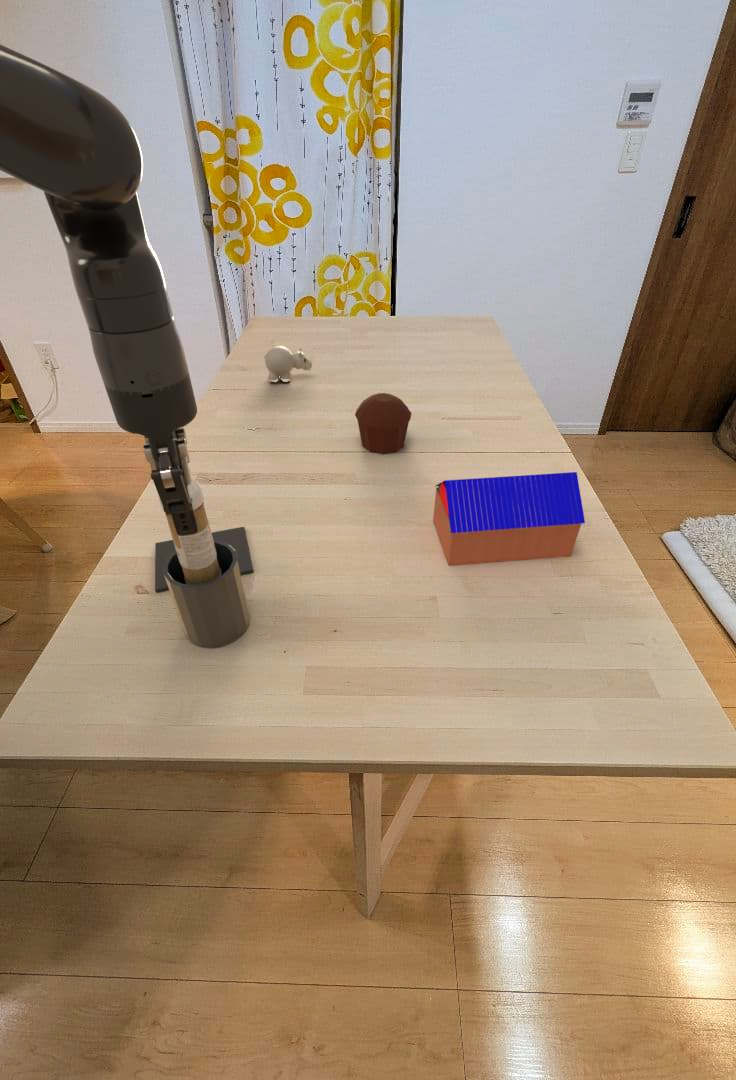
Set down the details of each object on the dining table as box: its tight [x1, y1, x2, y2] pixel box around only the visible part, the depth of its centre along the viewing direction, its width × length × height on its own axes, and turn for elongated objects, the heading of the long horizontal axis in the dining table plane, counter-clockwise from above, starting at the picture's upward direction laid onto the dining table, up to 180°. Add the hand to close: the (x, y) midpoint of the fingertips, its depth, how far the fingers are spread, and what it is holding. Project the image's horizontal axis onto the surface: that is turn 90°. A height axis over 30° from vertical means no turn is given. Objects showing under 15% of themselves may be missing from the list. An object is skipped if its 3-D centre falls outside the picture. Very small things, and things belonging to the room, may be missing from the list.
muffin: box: [354, 392, 412, 455], centre depth 105 cm, size 12×11×10 cm
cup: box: [164, 540, 251, 649], centre depth 66 cm, size 9×9×11 cm
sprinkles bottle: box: [157, 478, 222, 585], centre depth 60 cm, size 5×5×14 cm
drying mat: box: [154, 526, 254, 593], centre depth 80 cm, size 14×11×1 cm
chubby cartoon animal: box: [264, 345, 314, 380], centre depth 131 cm, size 7×12×8 cm, turn 97°
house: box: [432, 471, 586, 566], centre depth 80 cm, size 12×20×12 cm, turn 96°
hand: (187, 518), depth 59 cm, fingers closed on sprinkles bottle, 4 cm apart
